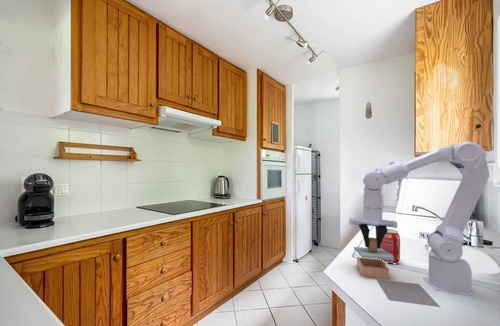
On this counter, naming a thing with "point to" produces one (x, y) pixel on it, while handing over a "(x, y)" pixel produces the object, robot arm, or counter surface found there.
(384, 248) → the soda can
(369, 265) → the tray
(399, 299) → the mat
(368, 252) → the lid
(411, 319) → the counter surface
